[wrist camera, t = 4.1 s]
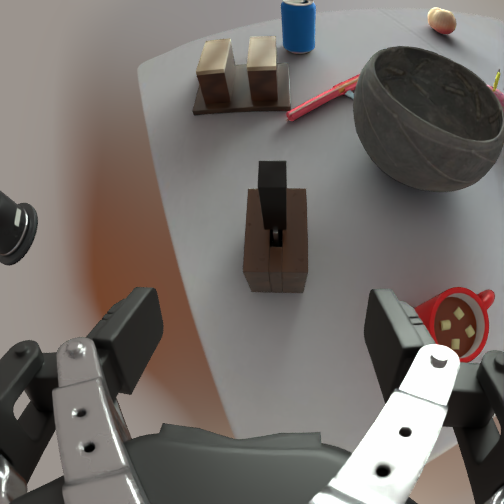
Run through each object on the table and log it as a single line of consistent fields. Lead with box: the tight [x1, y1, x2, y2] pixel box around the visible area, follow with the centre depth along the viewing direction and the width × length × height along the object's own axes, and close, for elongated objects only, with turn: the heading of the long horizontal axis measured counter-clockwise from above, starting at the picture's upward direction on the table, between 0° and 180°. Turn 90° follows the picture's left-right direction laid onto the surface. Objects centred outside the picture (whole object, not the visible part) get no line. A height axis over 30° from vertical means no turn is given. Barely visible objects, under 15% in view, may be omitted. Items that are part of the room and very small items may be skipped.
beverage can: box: [281, 0, 316, 54], centre depth 48 cm, size 6×6×12 cm
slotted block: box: [192, 36, 291, 115], centre depth 45 cm, size 16×13×8 cm
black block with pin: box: [258, 161, 287, 247], centre depth 30 cm, size 2×3×17 cm, turn 177°
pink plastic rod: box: [286, 74, 360, 121], centre depth 46 cm, size 24×2×5 cm
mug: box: [414, 287, 495, 363], centre depth 29 cm, size 8×12×8 cm, turn 118°
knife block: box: [243, 188, 308, 293], centre depth 34 cm, size 6×9×8 cm, turn 177°
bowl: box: [353, 46, 504, 192], centre depth 34 cm, size 21×21×15 cm
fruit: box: [428, 8, 456, 34], centre depth 52 cm, size 8×8×8 cm
